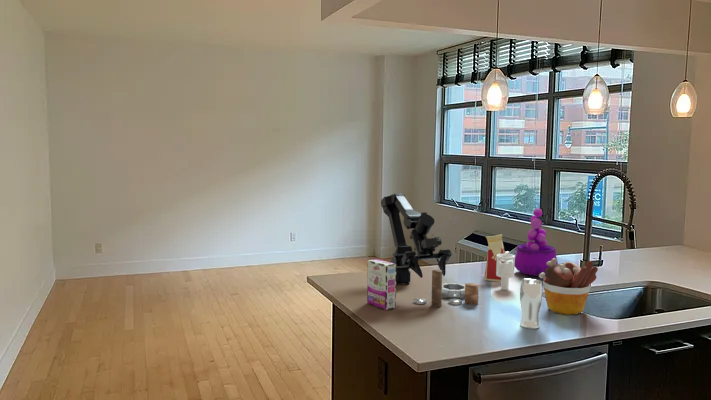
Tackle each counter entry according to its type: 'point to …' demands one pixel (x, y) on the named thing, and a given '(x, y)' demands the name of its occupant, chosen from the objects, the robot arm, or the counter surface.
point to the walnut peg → (436, 288)
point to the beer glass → (530, 302)
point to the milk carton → (493, 257)
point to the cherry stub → (471, 293)
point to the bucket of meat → (567, 286)
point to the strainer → (505, 269)
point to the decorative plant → (534, 249)
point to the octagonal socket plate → (453, 291)
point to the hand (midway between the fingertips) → (433, 276)
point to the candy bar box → (381, 284)
